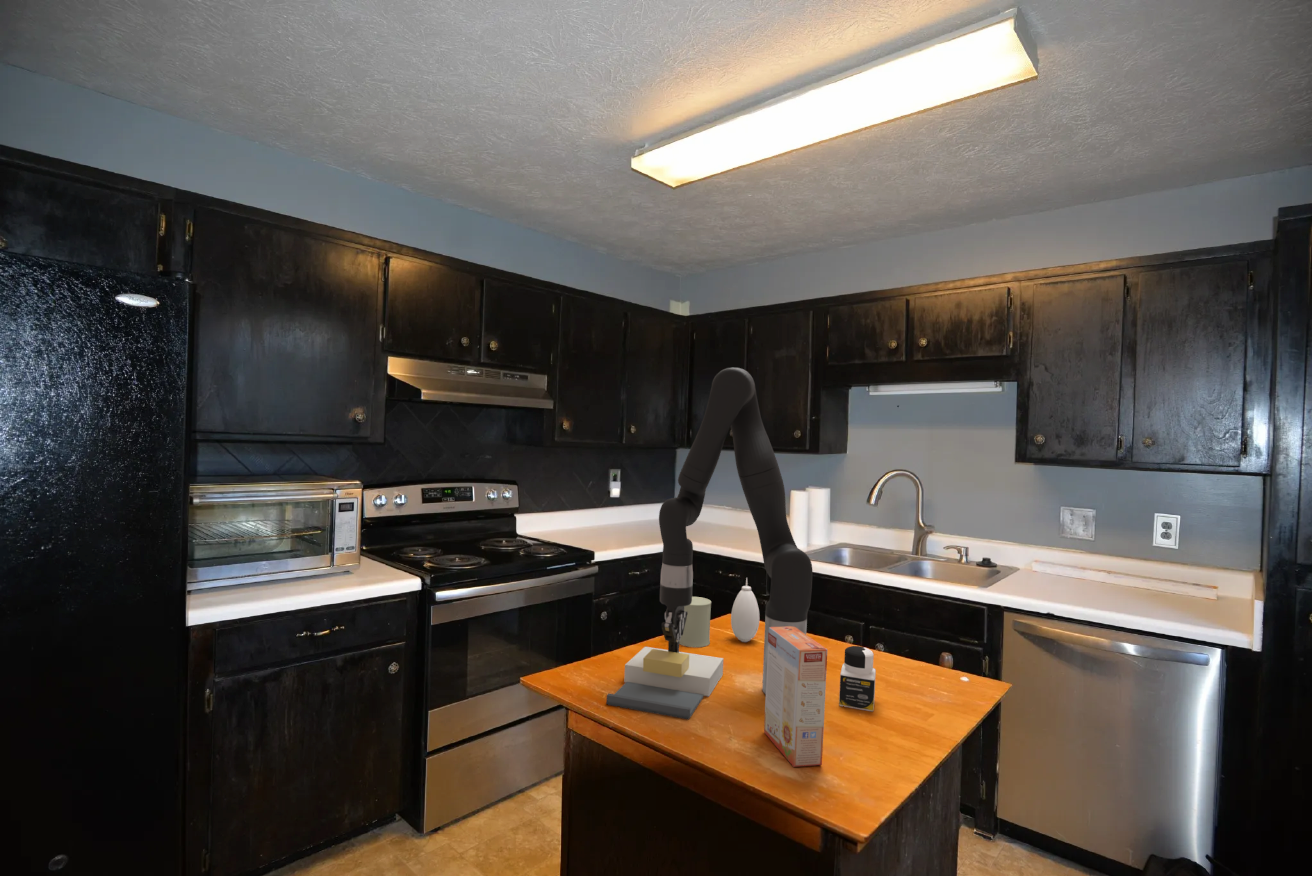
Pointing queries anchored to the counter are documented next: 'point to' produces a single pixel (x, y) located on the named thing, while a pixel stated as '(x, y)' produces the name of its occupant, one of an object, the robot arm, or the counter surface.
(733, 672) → the counter surface
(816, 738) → the cracker box
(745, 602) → the white bulb air blower
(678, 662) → the yellow block
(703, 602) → the can
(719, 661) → the white flat block
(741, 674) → the counter surface
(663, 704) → the tray
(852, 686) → the medicine bottle
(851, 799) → the counter surface
